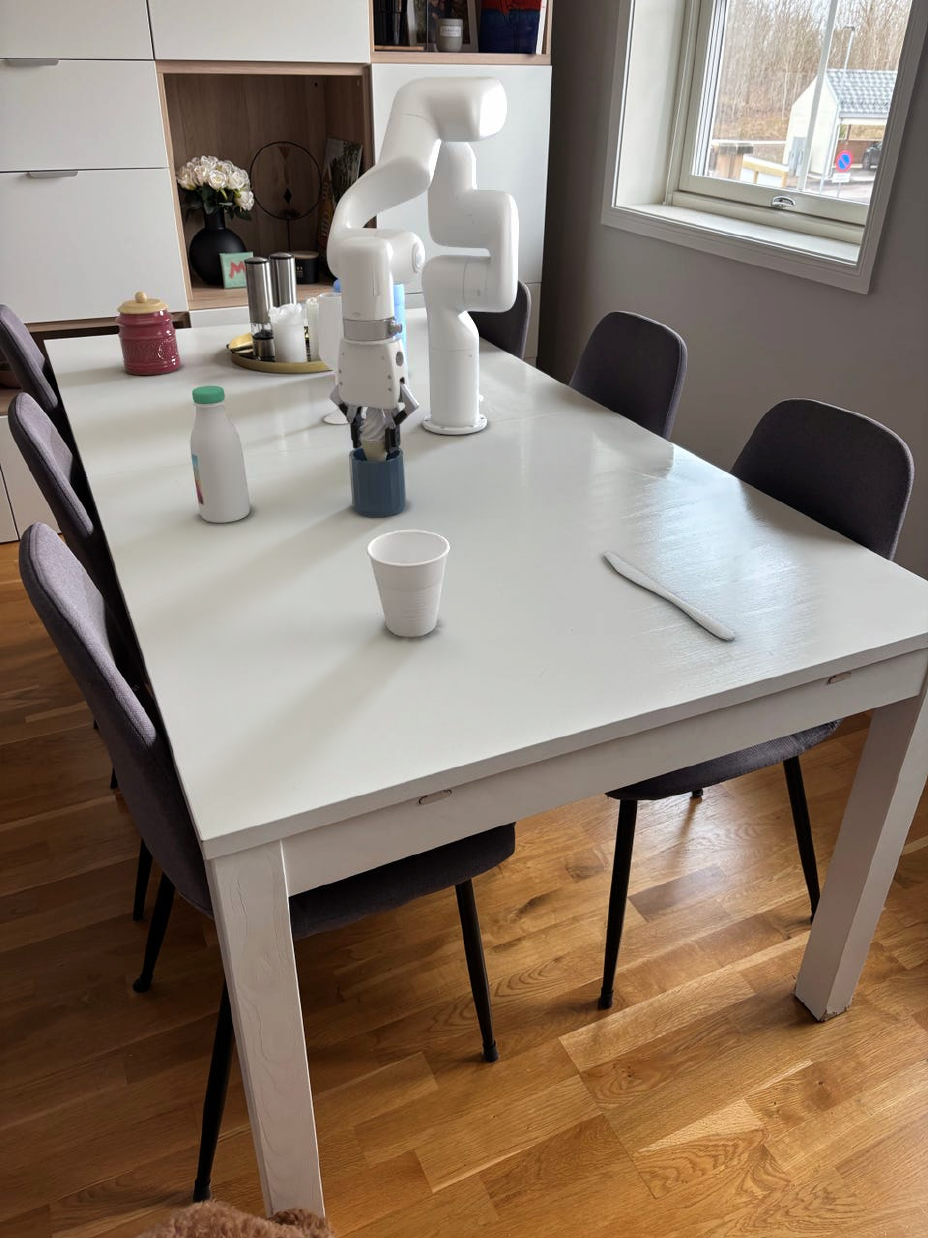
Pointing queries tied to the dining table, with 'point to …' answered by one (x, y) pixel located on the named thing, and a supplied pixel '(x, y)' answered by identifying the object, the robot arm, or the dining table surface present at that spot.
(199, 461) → the milk bottle
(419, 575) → the cup
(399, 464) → the tumbler
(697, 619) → the butter knife
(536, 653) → the dining table surface
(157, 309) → the kitchen canister
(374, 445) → the ice cream cone
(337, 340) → the champagne flute
